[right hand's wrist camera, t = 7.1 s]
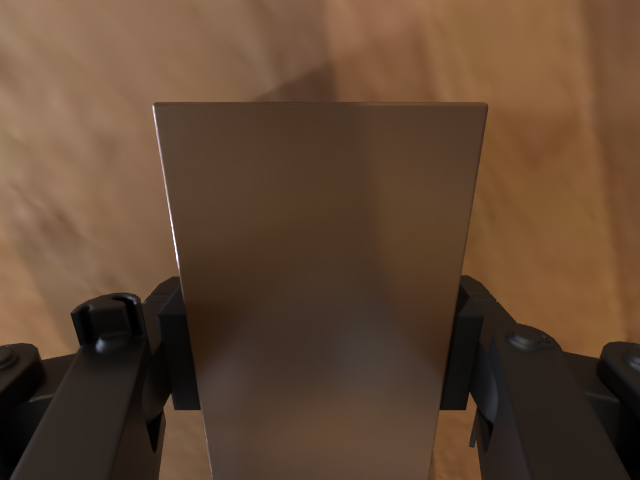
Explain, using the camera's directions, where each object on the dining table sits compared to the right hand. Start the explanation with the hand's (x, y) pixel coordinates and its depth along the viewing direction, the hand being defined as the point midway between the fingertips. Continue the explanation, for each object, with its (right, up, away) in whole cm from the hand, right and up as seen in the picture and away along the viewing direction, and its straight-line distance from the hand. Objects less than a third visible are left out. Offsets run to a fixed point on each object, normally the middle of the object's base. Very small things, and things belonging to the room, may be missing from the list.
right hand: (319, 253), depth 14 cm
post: (0, -20, +8) cm, 22 cm away
